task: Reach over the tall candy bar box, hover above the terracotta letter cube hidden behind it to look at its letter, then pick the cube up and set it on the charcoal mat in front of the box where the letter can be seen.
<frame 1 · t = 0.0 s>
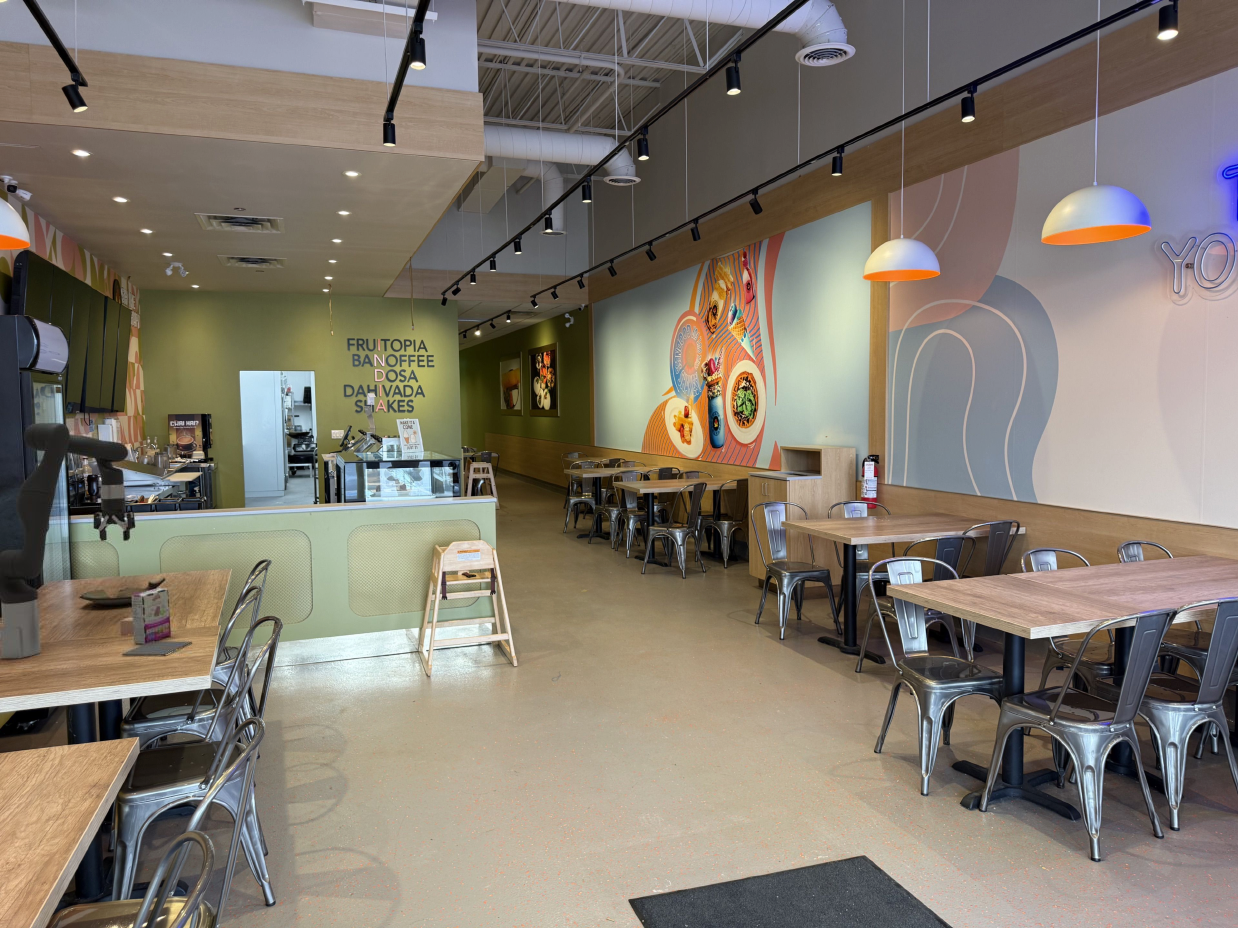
hand: (115, 540, 292), 29 cm above the table, tool pointing down, fingers open, 8 cm apart
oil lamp: (124, 603, 319), on the table
candy bar box: (152, 640, 264), on the table
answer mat: (158, 649, 253), on the table
letter cube: (132, 633, 273), on the table
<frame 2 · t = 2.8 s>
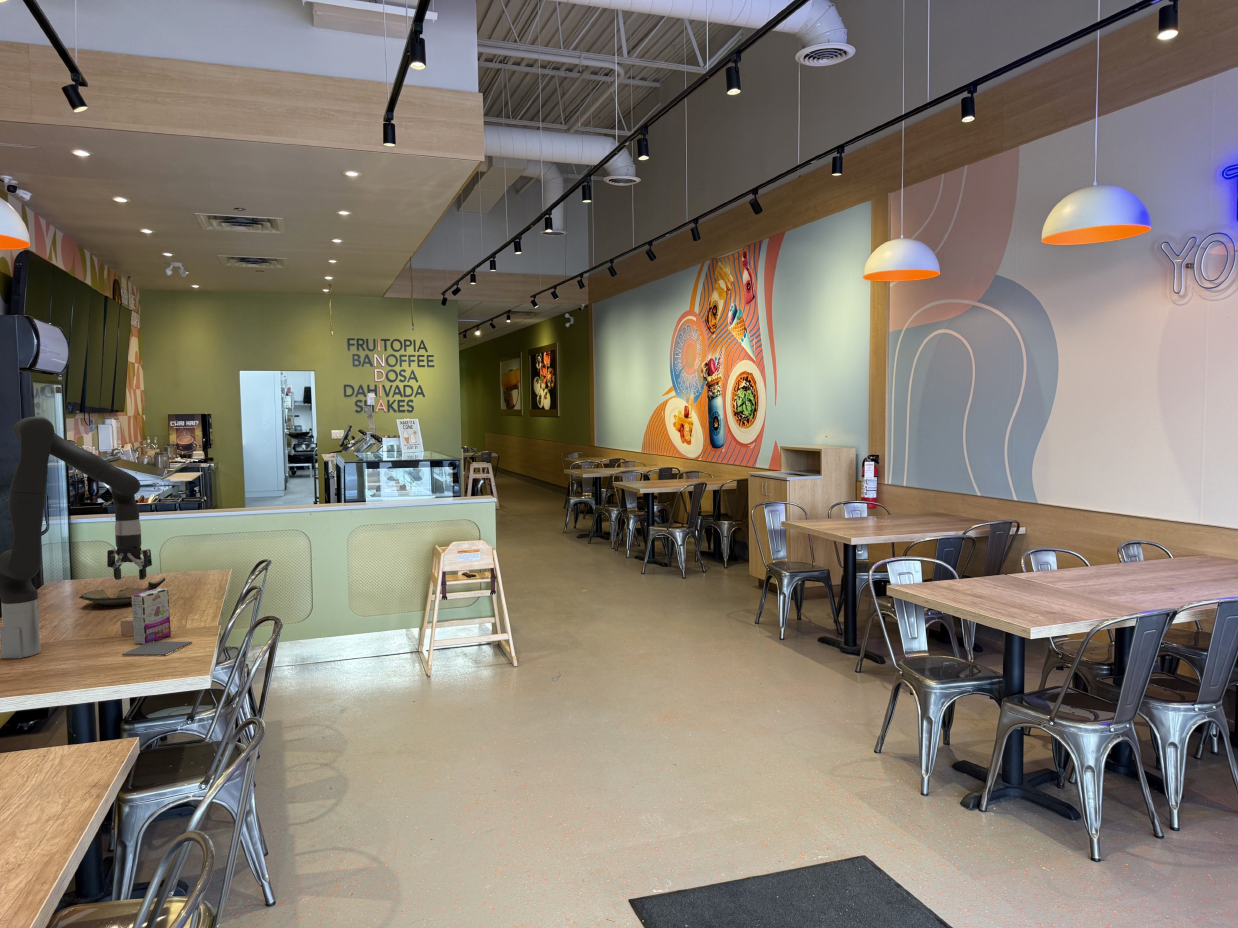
hand: (130, 579, 272), 19 cm above the table, tool pointing down, fingers open, 8 cm apart
nothing on the table moved.
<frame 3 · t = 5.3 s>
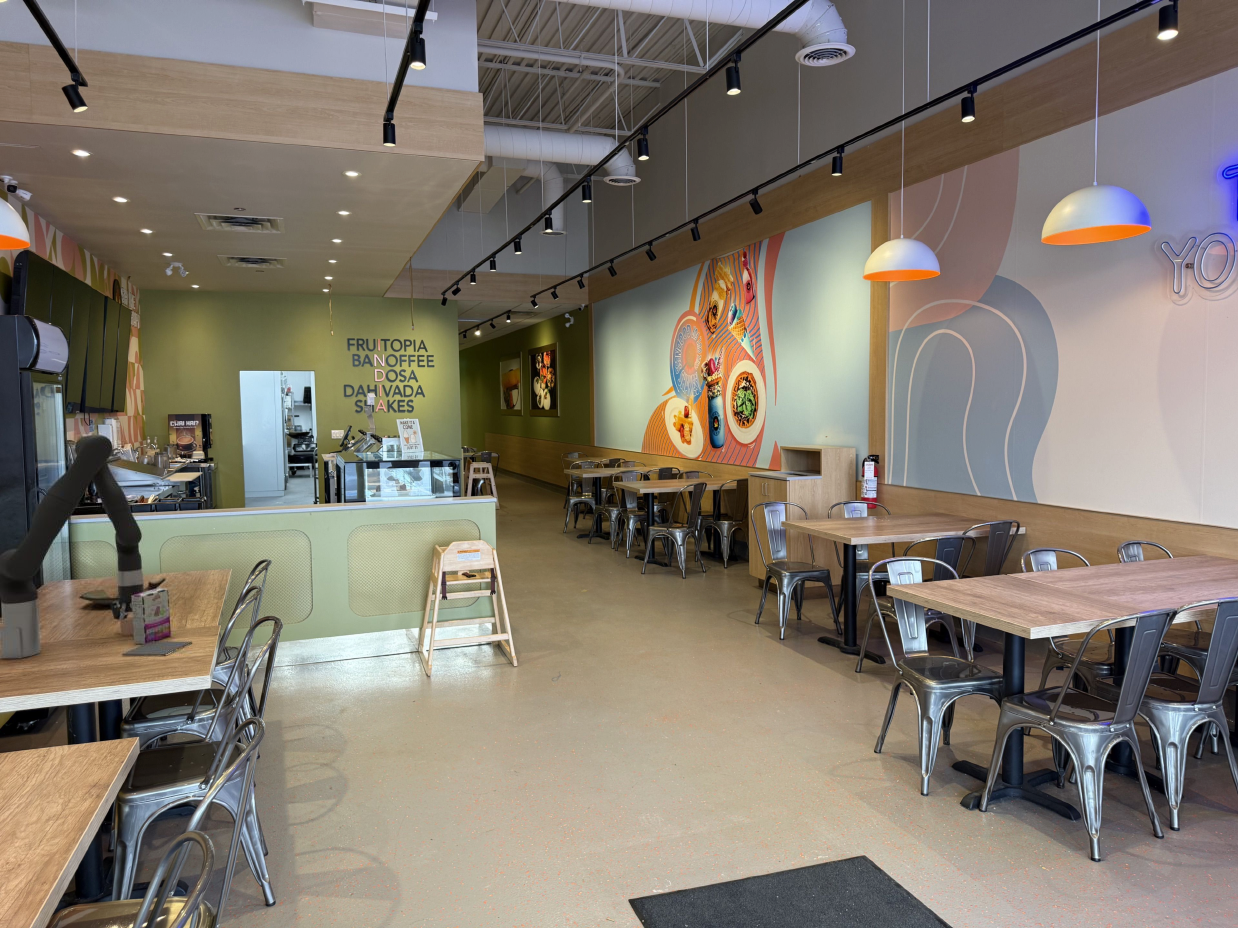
hand: (132, 630, 273), 1 cm above the table, tool pointing down, fingers closed on letter cube, 5 cm apart
letter cube: (132, 632, 273), on the table, touching gripper
everything else where it was.
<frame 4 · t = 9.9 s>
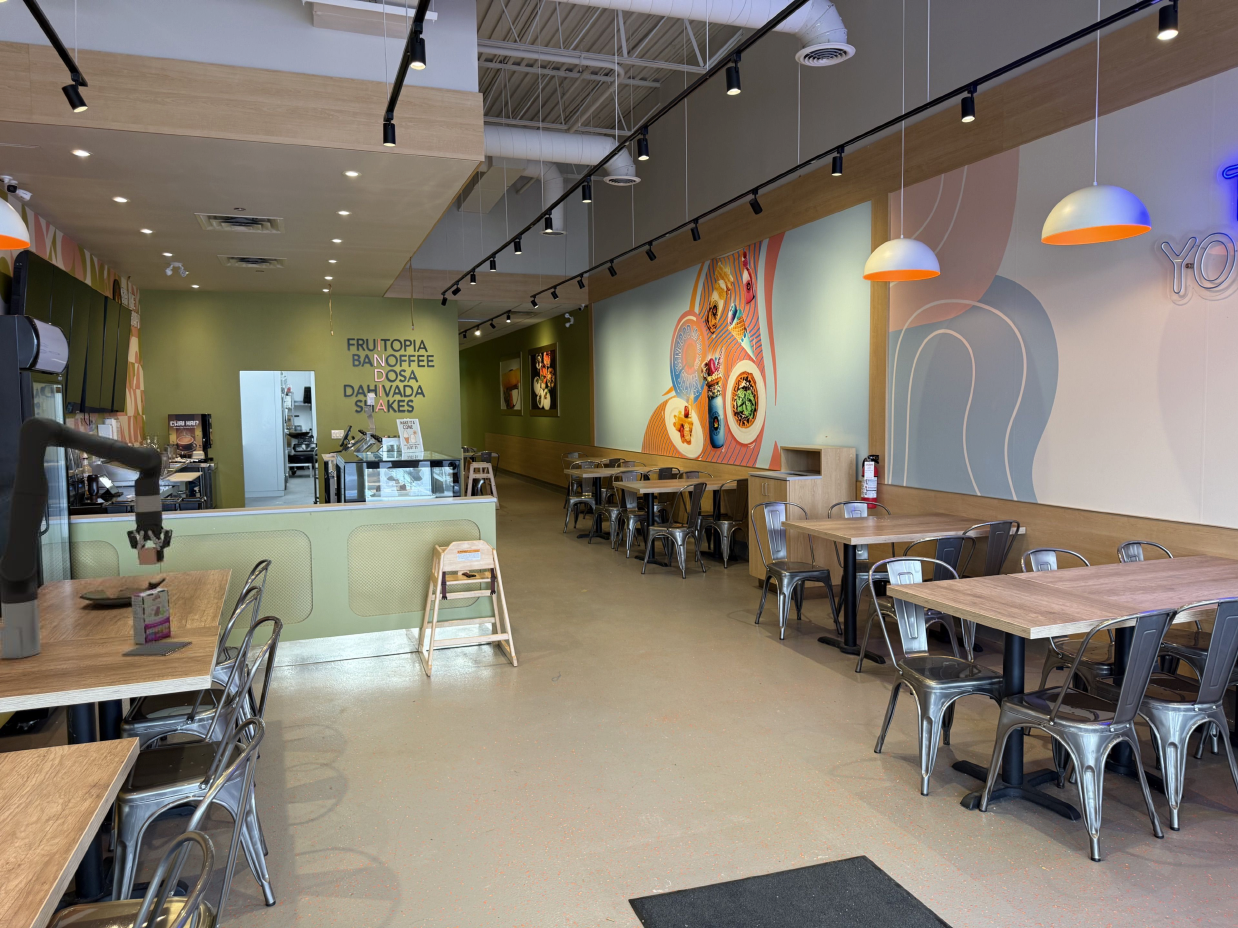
hand: (151, 561, 255), 28 cm above the table, tool pointing down, fingers closed on letter cube, 5 cm apart
letter cube: (151, 563, 255), point 27 cm above the table, touching gripper
everything else where it was.
when the fingers open (3 cm above the table, at t = 14.3 s): letter cube drops 1 cm, resting on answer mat.
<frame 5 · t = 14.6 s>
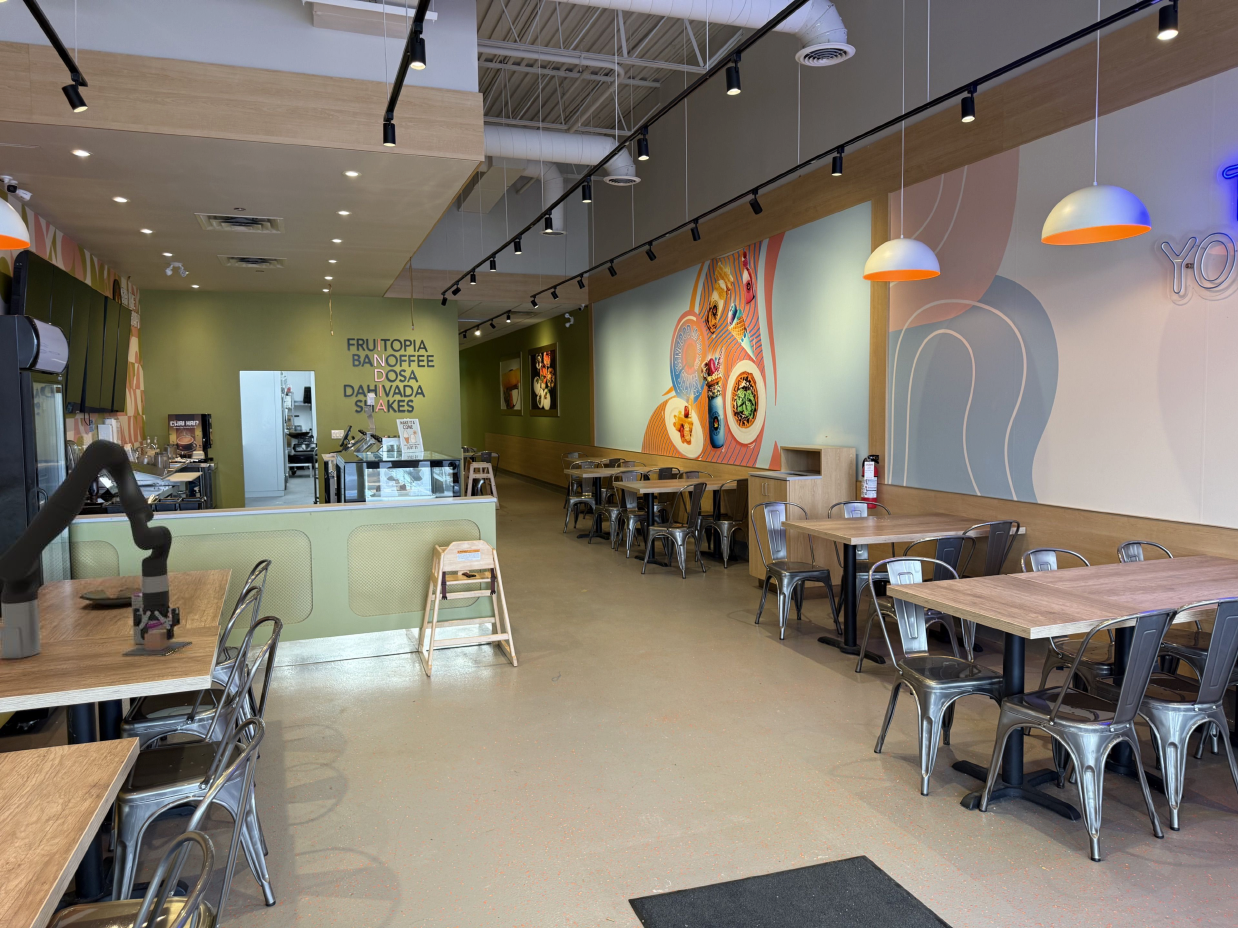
hand: (157, 639, 253), 3 cm above the table, tool pointing down, fingers open, 7 cm apart
letter cube: (157, 647, 253), point 1 cm above the table, touching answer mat
everything else where it was.
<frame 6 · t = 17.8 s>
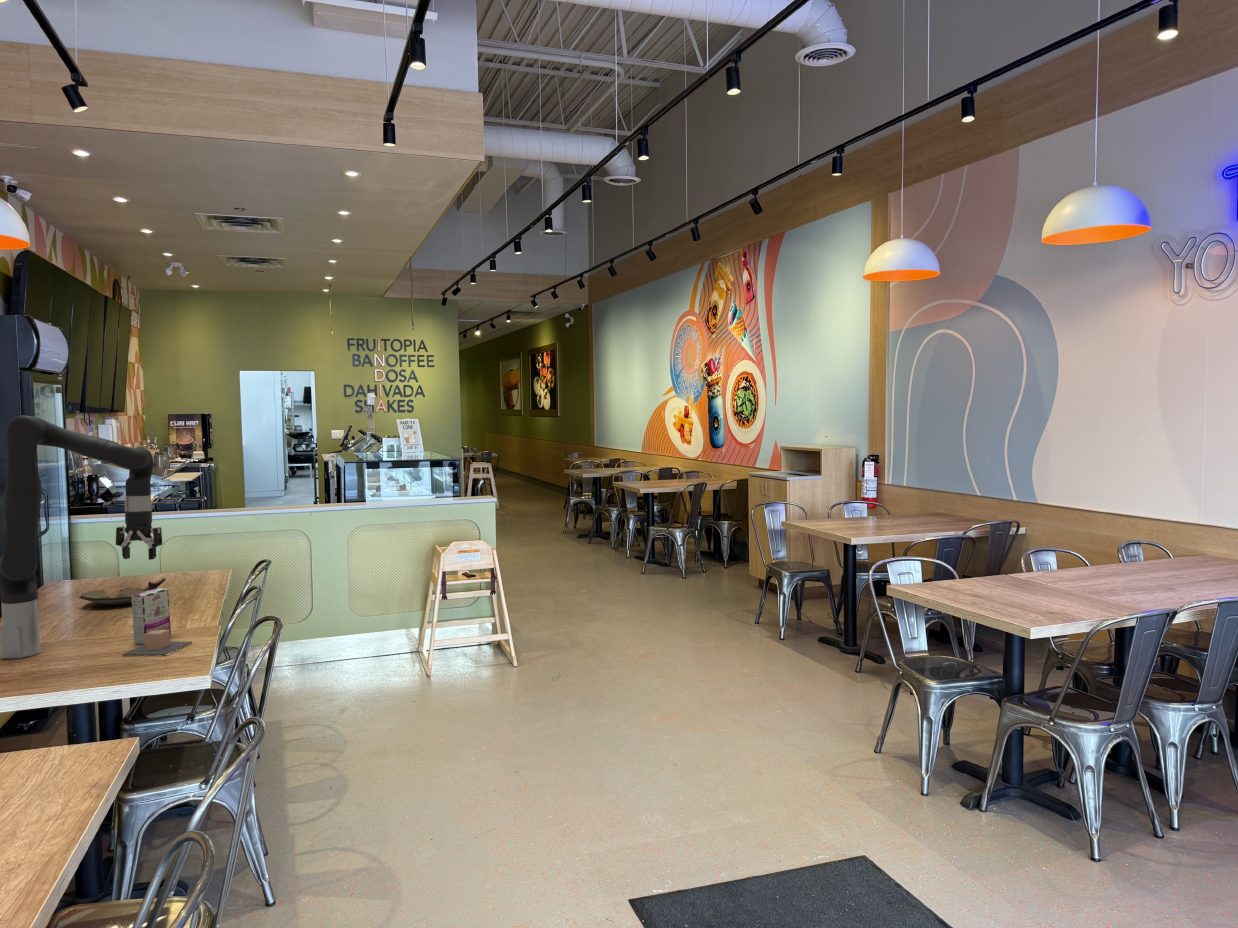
hand: (139, 558, 257), 28 cm above the table, tool pointing down, fingers open, 8 cm apart
nothing on the table moved.
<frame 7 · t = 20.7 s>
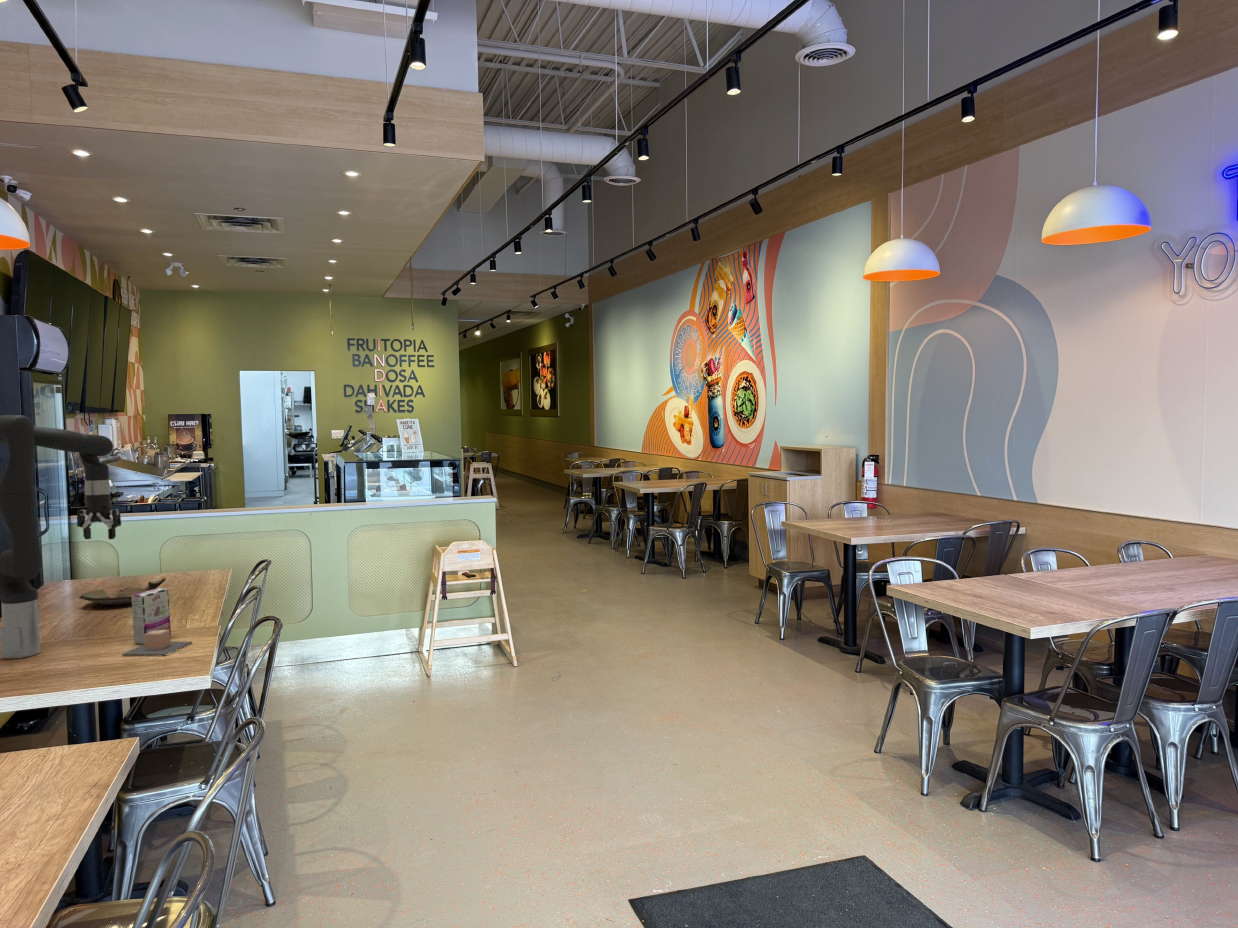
hand: (99, 539, 277), 32 cm above the table, tool pointing down, fingers open, 8 cm apart
nothing on the table moved.
at the end: letter cube inside the target area on the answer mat (0.1 cm from its centre), point 0.6 cm above the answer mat's base; letter cube tilted 0°; candy bar box moved 0.2 cm from its start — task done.
